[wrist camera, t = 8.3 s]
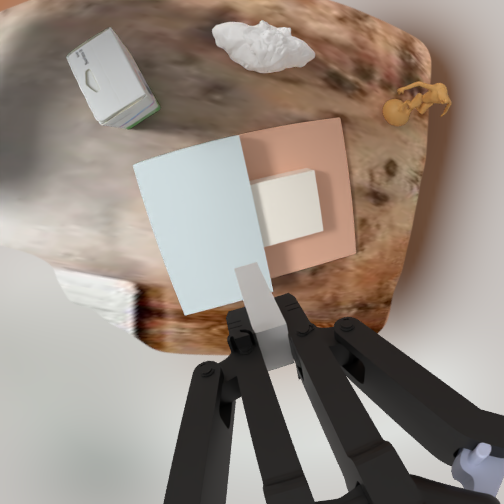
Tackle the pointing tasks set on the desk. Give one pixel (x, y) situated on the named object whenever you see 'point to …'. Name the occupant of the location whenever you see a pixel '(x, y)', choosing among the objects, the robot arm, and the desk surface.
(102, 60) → the ink box
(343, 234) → the mat
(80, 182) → the desk surface
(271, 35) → the white tied bag
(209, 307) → the plate
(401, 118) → the figurine
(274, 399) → the robot arm
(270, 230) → the coaster
